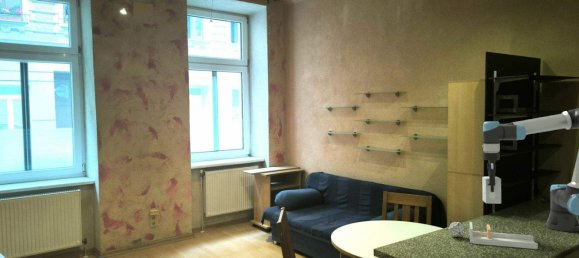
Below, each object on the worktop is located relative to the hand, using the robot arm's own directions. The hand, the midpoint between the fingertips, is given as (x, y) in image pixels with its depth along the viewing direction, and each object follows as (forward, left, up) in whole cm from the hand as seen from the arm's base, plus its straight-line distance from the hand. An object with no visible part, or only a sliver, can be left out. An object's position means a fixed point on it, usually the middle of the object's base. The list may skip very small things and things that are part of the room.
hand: (491, 196), depth 214 cm
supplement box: (0, 0, -3) cm, 3 cm away
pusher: (+2, +13, -18) cm, 23 cm away
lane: (-3, +14, -19) cm, 24 cm away
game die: (+17, +12, -19) cm, 28 cm away
